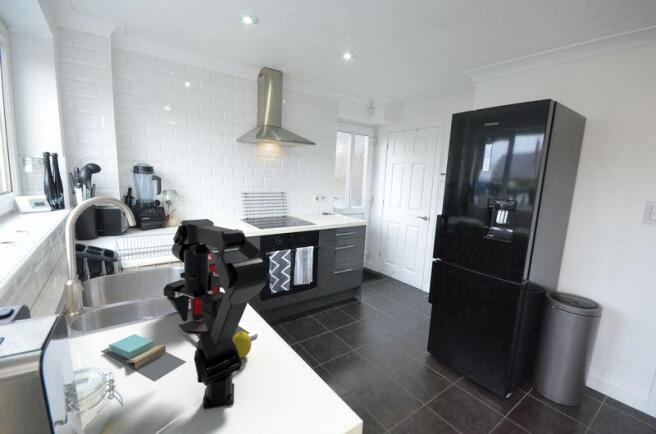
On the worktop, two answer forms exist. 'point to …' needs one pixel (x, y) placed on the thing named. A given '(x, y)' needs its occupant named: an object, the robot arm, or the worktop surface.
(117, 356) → the mat
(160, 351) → the ramp
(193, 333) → the picture frame
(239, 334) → the lemon
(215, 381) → the robot arm
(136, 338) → the card deck
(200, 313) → the cleaning product box
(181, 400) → the worktop surface
